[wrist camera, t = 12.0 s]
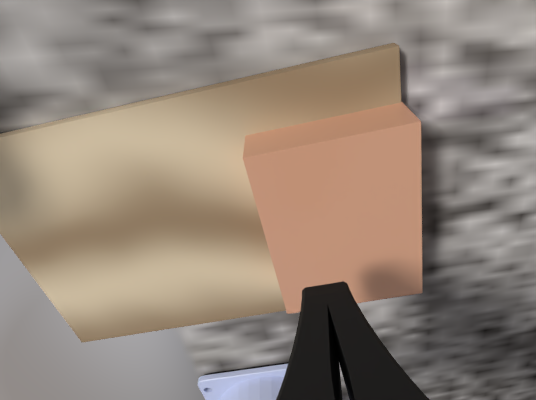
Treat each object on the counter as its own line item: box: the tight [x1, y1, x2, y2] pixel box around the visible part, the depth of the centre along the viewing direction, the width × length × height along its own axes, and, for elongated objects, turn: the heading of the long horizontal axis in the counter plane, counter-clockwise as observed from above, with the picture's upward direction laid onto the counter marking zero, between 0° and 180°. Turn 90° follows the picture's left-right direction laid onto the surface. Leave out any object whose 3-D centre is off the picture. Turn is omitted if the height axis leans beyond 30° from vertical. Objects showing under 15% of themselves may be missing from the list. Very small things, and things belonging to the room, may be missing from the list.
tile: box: [243, 102, 422, 314], centre depth 16 cm, size 8×2×6 cm
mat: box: [0, 43, 401, 342], centre depth 17 cm, size 12×18×1 cm, turn 103°
